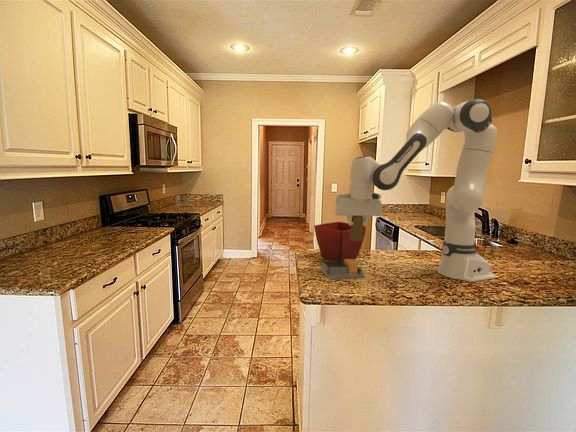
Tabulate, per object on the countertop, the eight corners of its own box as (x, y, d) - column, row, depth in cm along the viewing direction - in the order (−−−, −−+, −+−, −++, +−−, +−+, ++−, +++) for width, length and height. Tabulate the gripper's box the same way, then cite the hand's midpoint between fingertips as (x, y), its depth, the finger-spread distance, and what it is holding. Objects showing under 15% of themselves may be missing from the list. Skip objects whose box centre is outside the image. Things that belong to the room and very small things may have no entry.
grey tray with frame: (352, 268, 137) (352, 258, 136) (363, 278, 124) (364, 267, 123) (320, 269, 134) (321, 259, 134) (329, 279, 122) (329, 269, 121)
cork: (365, 239, 132) (367, 215, 131) (358, 242, 128) (360, 216, 126) (353, 237, 136) (355, 213, 134) (346, 239, 132) (348, 214, 130)
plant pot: (312, 256, 154) (313, 224, 152) (337, 251, 166) (338, 221, 163) (340, 266, 139) (341, 231, 137) (365, 259, 151) (367, 226, 149)
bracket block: (352, 267, 133) (352, 258, 132) (357, 272, 127) (357, 263, 126) (343, 267, 132) (344, 259, 131) (348, 272, 126) (348, 263, 126)
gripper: (338, 194, 124) (336, 226, 126) (384, 195, 127) (381, 227, 129) (334, 193, 130) (332, 224, 133) (378, 194, 133) (375, 224, 135)
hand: (357, 225), depth 131 cm, fingers closed on cork, 4 cm apart
